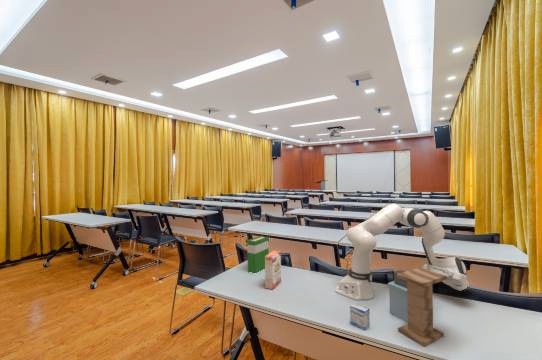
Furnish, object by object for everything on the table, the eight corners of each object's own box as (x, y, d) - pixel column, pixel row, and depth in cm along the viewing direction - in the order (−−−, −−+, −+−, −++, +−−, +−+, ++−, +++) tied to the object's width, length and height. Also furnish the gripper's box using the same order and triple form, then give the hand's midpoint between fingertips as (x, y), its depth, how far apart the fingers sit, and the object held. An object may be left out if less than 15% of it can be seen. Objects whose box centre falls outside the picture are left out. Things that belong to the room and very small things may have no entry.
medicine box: (349, 323, 122) (349, 305, 122) (354, 319, 125) (354, 302, 125) (365, 330, 116) (365, 311, 116) (370, 326, 119) (369, 308, 119)
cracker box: (273, 290, 160) (272, 257, 160) (264, 288, 163) (264, 256, 162) (281, 281, 173) (281, 251, 173) (273, 280, 175) (273, 250, 175)
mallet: (421, 274, 140) (421, 263, 140) (436, 279, 133) (436, 267, 133) (394, 283, 129) (393, 271, 129) (409, 289, 122) (408, 276, 122)
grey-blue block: (409, 304, 138) (409, 276, 138) (430, 314, 128) (429, 283, 128) (388, 312, 130) (387, 282, 130) (408, 323, 120) (407, 291, 120)
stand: (421, 320, 122) (420, 267, 122) (448, 334, 112) (446, 275, 112) (397, 331, 115) (396, 274, 115) (424, 346, 104) (422, 283, 104)
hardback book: (261, 265, 206) (260, 235, 206) (269, 266, 202) (268, 236, 202) (247, 272, 192) (247, 240, 191) (255, 274, 188) (254, 241, 187)
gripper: (431, 265, 155) (419, 257, 149) (470, 277, 136) (457, 268, 131) (428, 275, 153) (415, 267, 148) (467, 288, 135) (454, 280, 130)
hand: (435, 268), depth 139 cm, fingers open, 8 cm apart
